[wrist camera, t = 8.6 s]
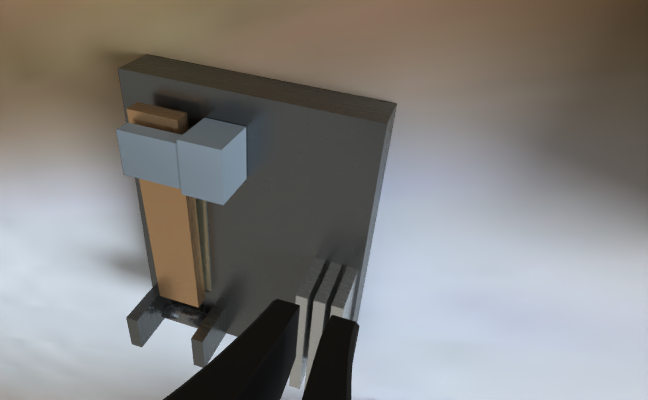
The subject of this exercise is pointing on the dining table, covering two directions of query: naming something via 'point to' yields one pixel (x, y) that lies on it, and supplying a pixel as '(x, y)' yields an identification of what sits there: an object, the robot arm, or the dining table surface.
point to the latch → (187, 158)
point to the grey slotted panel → (273, 201)
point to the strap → (172, 227)
